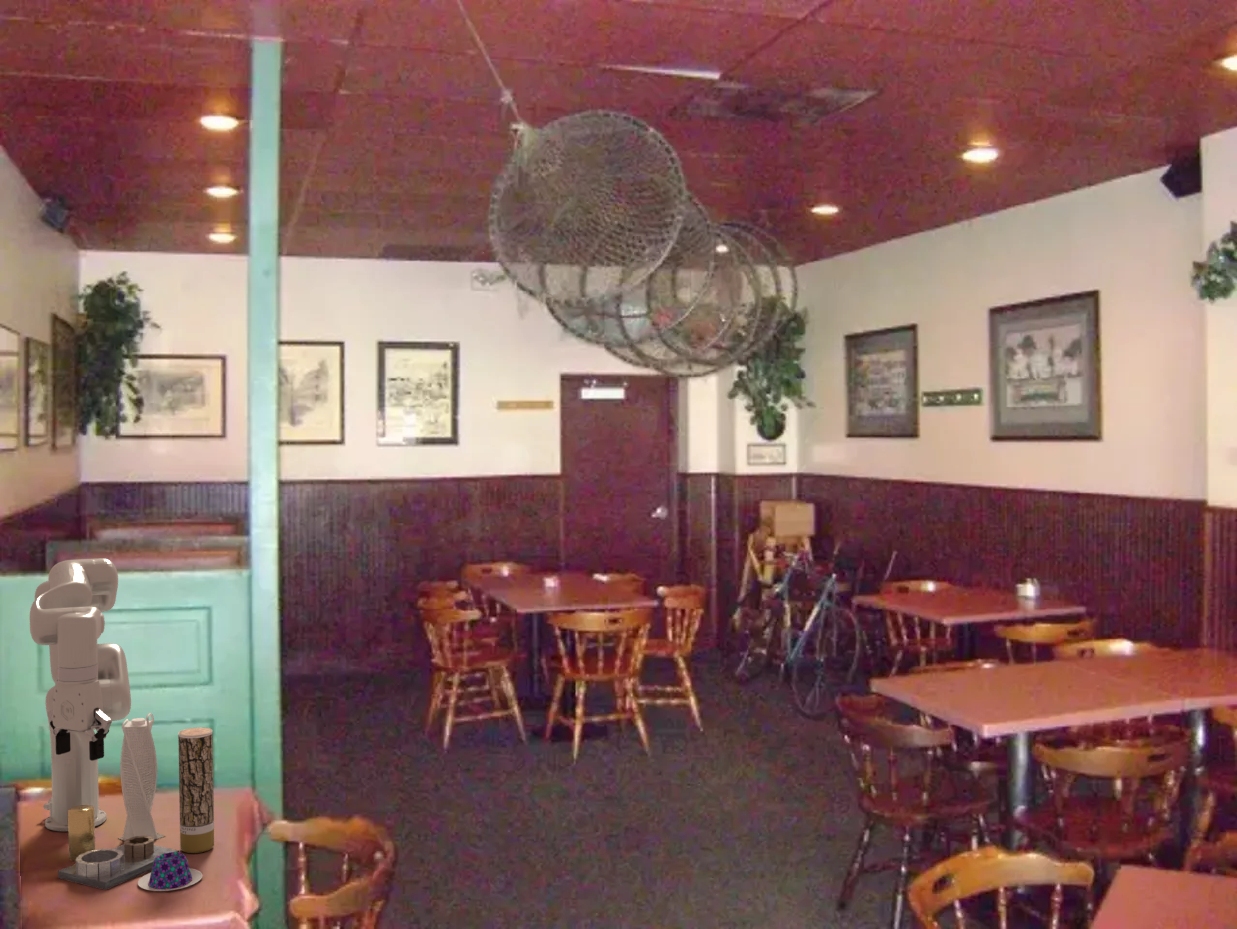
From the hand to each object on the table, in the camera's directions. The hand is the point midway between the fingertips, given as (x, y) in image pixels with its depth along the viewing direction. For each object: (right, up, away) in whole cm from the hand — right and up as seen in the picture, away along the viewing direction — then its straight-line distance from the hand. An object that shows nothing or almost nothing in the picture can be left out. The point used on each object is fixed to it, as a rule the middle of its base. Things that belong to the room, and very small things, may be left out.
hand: (79, 756), depth 262 cm
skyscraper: (+8, -21, +12) cm, 25 cm away
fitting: (0, -21, +1) cm, 21 cm away
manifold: (+10, -22, -5) cm, 24 cm away
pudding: (+23, -22, -12) cm, 34 cm away
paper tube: (+22, -21, +6) cm, 31 cm away
